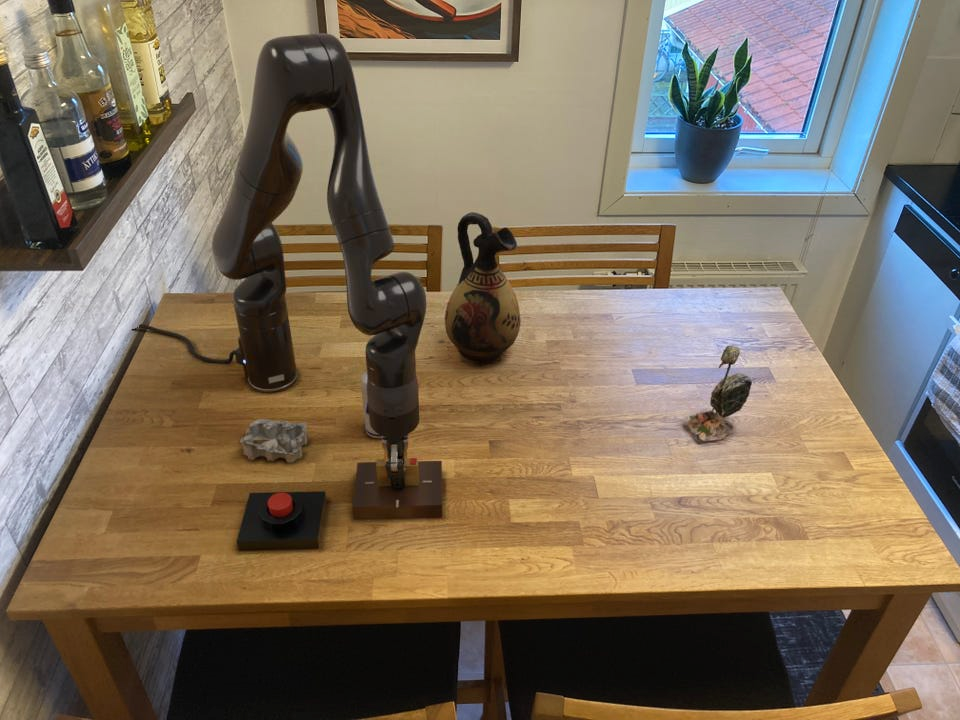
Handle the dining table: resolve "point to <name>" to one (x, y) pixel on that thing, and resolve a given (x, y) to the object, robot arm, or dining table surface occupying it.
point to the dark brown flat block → (398, 494)
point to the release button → (280, 505)
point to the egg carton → (274, 440)
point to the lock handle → (410, 473)
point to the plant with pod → (722, 402)
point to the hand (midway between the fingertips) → (398, 481)
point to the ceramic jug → (482, 297)
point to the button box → (283, 523)
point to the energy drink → (365, 408)
